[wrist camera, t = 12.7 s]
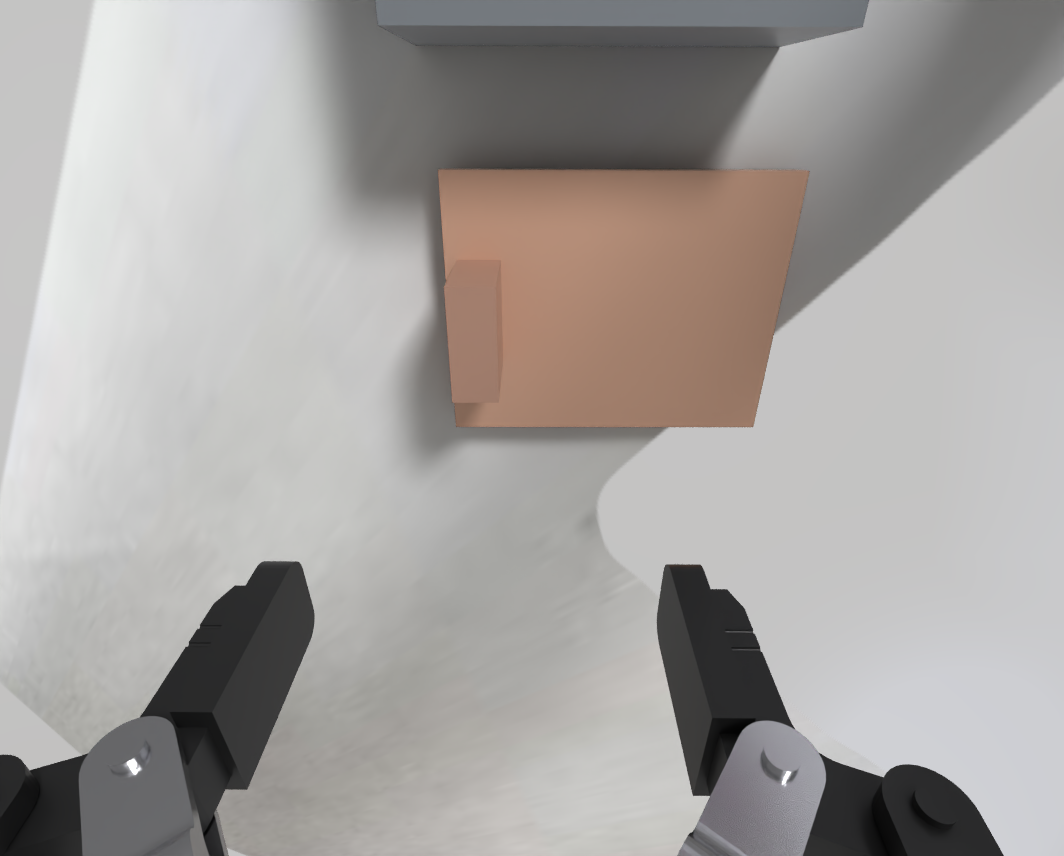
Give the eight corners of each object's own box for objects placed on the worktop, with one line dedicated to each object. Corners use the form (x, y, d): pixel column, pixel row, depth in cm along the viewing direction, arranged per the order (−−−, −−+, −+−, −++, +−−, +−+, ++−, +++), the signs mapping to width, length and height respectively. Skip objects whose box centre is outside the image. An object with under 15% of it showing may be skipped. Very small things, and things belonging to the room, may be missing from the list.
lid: (791, 167, 31) (864, 183, 24) (741, 410, 39) (786, 475, 32) (443, 165, 31) (419, 182, 24) (459, 410, 38) (444, 475, 32)
